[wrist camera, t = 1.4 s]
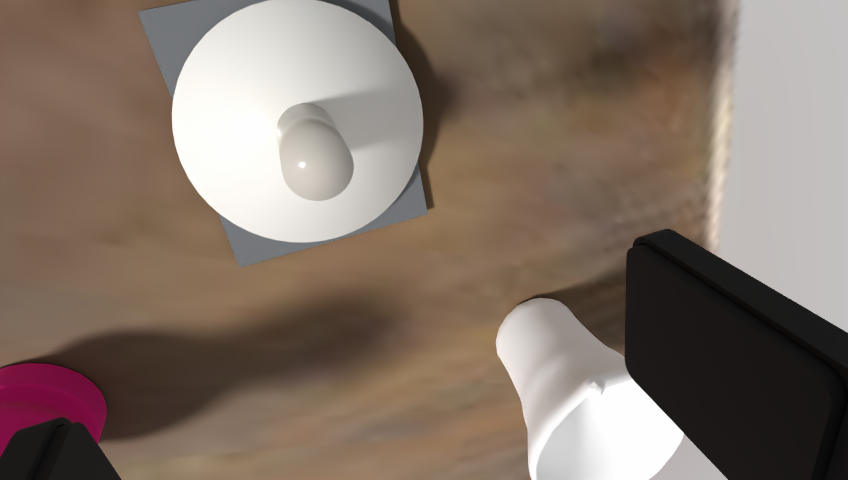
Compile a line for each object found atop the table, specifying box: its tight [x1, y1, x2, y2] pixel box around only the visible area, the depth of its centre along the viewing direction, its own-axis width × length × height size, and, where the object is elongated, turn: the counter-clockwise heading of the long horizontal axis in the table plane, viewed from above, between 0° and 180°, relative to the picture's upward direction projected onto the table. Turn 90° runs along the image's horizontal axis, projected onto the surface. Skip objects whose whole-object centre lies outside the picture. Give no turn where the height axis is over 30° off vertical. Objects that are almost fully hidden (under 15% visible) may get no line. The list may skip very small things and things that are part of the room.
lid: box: [172, 0, 423, 242], centre depth 22 cm, size 11×11×6 cm
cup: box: [496, 298, 684, 480], centre depth 30 cm, size 9×9×10 cm
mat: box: [138, 0, 428, 267], centre depth 25 cm, size 12×10×1 cm
